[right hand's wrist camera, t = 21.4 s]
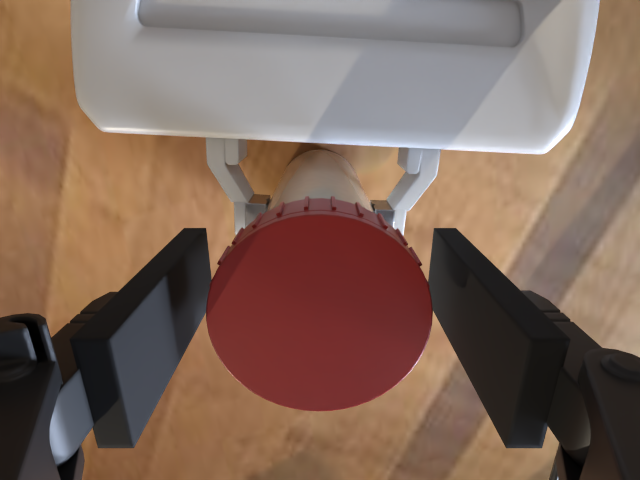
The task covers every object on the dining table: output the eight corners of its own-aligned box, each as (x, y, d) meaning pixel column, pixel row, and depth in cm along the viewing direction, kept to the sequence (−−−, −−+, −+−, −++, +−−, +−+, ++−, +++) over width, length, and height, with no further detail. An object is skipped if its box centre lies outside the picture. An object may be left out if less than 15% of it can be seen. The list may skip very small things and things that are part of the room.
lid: (198, 206, 11) (178, 224, 9) (418, 183, 11) (435, 197, 9) (238, 383, 13) (227, 421, 11) (422, 366, 13) (437, 404, 11)
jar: (295, 236, 26) (267, 395, 12) (268, 164, 24) (201, 253, 10) (368, 213, 25) (426, 353, 12) (345, 138, 24) (382, 196, 10)
